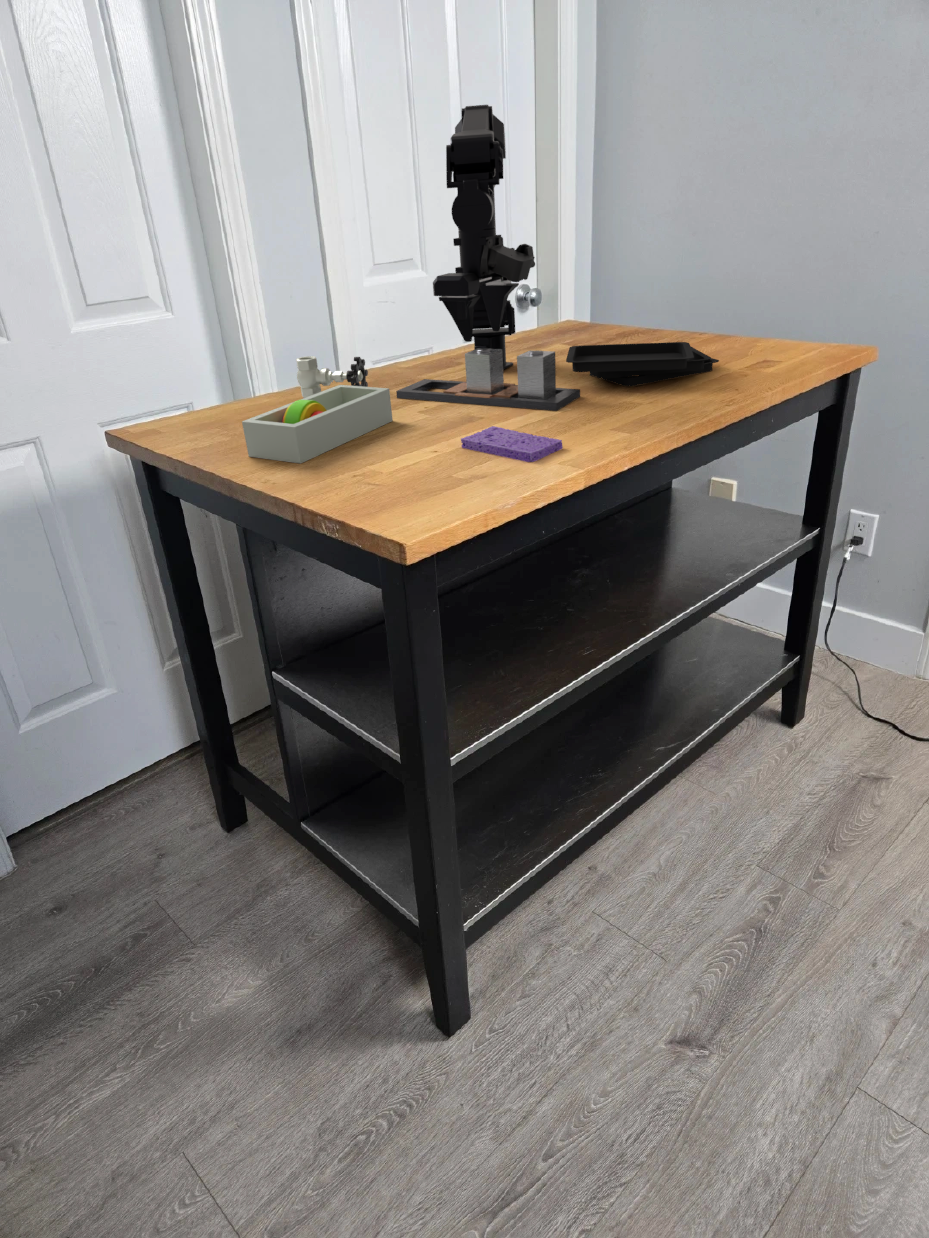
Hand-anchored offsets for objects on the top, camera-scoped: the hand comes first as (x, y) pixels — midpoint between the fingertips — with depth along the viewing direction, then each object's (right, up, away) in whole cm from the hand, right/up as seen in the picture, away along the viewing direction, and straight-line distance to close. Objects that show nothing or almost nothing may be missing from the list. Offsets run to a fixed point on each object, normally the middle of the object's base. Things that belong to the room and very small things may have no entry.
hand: (482, 336), depth 133 cm
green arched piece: (-24, -19, -10) cm, 32 cm away
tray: (+28, -4, +10) cm, 30 cm away
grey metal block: (+9, -10, 0) cm, 14 cm away
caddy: (-24, -19, -10) cm, 32 cm away
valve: (-26, -6, +14) cm, 30 cm away
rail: (+1, -9, +5) cm, 10 cm away
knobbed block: (+1, -9, +5) cm, 10 cm away
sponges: (+3, -23, -20) cm, 31 cm away
